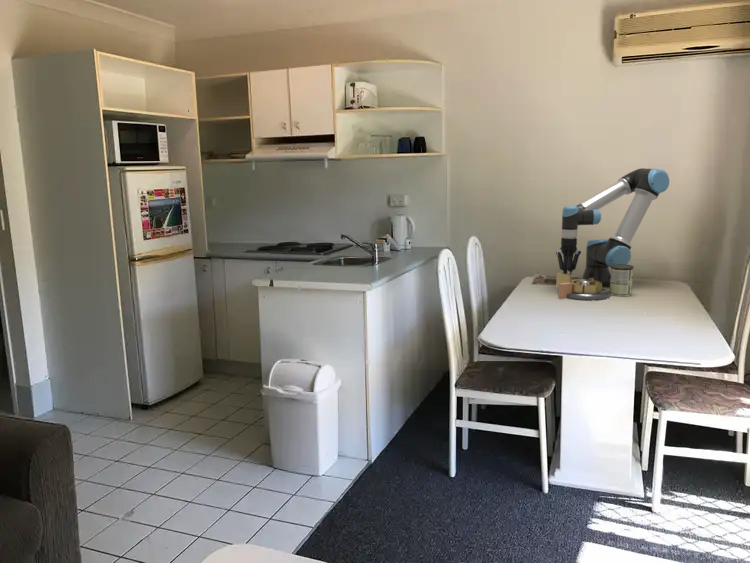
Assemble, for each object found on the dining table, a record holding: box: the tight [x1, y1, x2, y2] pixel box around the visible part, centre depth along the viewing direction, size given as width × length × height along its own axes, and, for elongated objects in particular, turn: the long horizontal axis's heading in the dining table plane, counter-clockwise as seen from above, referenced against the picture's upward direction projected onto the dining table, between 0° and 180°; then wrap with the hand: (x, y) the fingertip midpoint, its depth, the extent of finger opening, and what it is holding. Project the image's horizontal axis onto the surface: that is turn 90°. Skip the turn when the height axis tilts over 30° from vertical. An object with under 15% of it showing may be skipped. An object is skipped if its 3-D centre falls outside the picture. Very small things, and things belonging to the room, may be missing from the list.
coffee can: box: [609, 264, 634, 297], centre depth 304 cm, size 10×10×14 cm
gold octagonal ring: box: [555, 272, 603, 294], centre depth 306 cm, size 22×15×7 cm
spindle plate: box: [566, 280, 611, 302], centre depth 304 cm, size 24×24×7 cm
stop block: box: [557, 282, 572, 300], centre depth 299 cm, size 6×2×7 cm, turn 114°
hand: (566, 283), depth 315 cm, fingers closed
